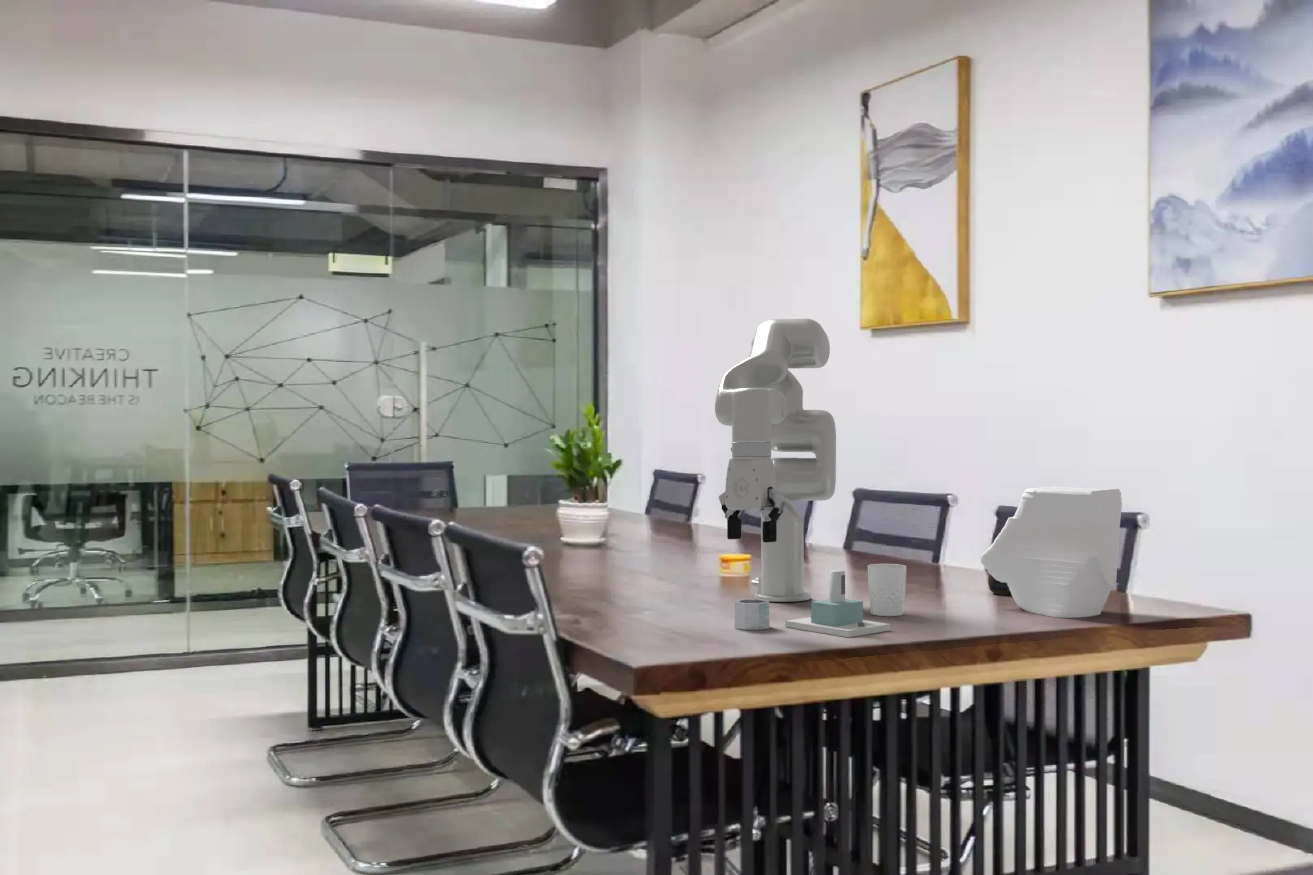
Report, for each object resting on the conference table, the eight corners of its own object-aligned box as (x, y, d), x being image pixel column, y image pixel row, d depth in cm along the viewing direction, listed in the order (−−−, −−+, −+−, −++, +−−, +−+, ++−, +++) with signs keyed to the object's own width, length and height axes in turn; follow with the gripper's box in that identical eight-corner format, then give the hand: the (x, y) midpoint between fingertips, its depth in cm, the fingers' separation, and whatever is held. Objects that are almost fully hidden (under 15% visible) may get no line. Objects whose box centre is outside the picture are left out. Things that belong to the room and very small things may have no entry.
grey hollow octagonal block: (727, 626, 247) (727, 601, 247) (752, 623, 252) (752, 598, 251) (751, 631, 242) (751, 604, 242) (776, 627, 246) (776, 601, 246)
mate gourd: (1020, 592, 296) (1020, 549, 296) (1021, 596, 289) (1021, 552, 289) (988, 591, 298) (988, 548, 298) (988, 595, 291) (988, 552, 290)
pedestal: (785, 626, 247) (785, 570, 247) (827, 620, 255) (827, 565, 255) (847, 637, 235) (847, 577, 235) (890, 630, 242) (890, 572, 242)
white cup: (880, 617, 258) (880, 568, 258) (860, 612, 266) (860, 564, 266) (914, 615, 261) (913, 566, 261) (893, 610, 269) (892, 562, 269)
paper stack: (1079, 622, 252) (1079, 492, 252) (976, 606, 274) (976, 486, 274) (1147, 613, 263) (1147, 488, 263) (1042, 598, 286) (1042, 483, 286)
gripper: (707, 451, 251) (707, 538, 251) (769, 452, 237) (769, 544, 237) (734, 451, 255) (734, 537, 255) (797, 452, 242) (797, 542, 242)
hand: (751, 540), depth 246 cm, fingers open, 9 cm apart
